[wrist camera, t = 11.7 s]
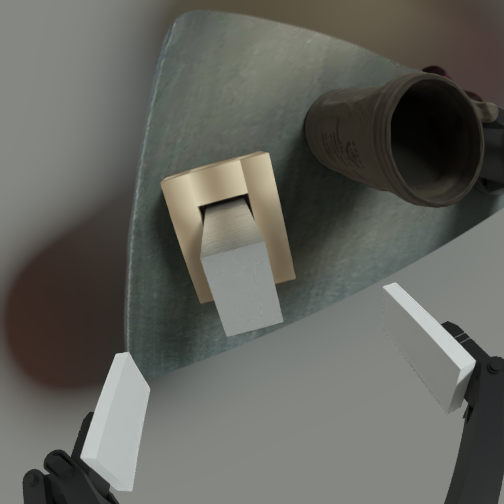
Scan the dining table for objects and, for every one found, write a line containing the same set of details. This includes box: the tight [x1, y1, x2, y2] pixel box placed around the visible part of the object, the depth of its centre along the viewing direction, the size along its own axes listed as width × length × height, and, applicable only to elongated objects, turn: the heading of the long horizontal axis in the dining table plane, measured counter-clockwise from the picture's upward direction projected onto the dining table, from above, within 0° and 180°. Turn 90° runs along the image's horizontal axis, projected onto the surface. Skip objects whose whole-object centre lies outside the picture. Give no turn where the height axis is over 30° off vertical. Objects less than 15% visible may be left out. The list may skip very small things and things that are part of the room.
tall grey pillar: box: [200, 195, 283, 337], centre depth 28 cm, size 4×6×18 cm, turn 14°
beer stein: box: [305, 72, 498, 208], centre depth 26 cm, size 15×11×20 cm
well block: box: [160, 151, 296, 304], centre depth 35 cm, size 11×14×6 cm
